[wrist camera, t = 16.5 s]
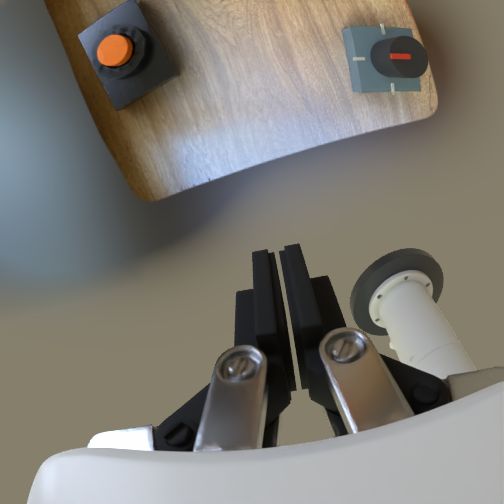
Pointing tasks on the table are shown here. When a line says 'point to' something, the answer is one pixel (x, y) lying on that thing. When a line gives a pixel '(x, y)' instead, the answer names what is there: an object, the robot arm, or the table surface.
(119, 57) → the button
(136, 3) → the button block
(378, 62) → the dial
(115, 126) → the table surface
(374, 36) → the panel
